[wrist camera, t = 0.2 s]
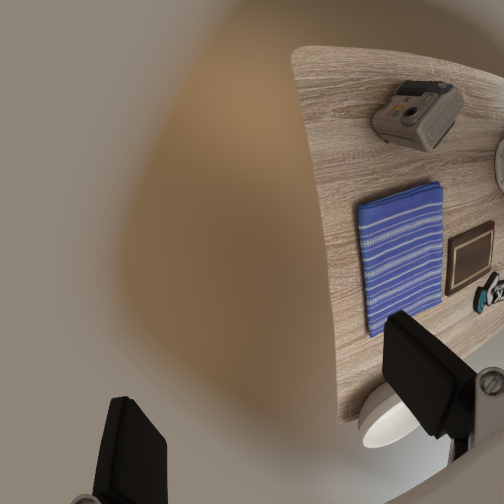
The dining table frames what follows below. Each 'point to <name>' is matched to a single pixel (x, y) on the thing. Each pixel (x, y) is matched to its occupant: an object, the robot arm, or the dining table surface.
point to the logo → (489, 293)
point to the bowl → (384, 418)
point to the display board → (469, 257)
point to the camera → (419, 114)
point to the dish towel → (401, 252)
